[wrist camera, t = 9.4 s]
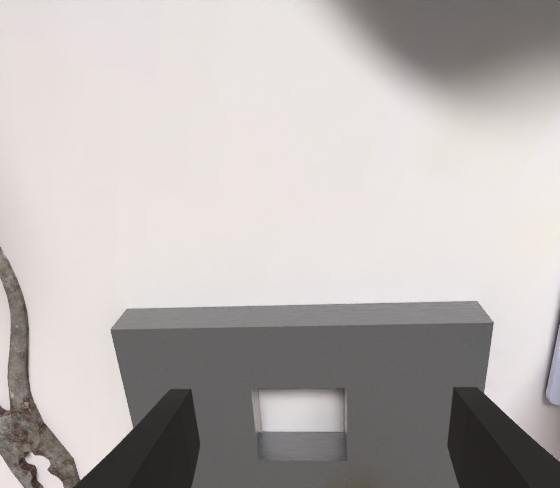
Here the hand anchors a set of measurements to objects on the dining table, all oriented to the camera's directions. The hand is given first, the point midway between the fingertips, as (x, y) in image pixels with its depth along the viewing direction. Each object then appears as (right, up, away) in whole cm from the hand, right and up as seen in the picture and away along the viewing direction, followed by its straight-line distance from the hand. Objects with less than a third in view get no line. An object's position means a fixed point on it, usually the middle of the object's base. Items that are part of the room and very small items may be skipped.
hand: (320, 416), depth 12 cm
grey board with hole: (0, -4, +12) cm, 13 cm away
